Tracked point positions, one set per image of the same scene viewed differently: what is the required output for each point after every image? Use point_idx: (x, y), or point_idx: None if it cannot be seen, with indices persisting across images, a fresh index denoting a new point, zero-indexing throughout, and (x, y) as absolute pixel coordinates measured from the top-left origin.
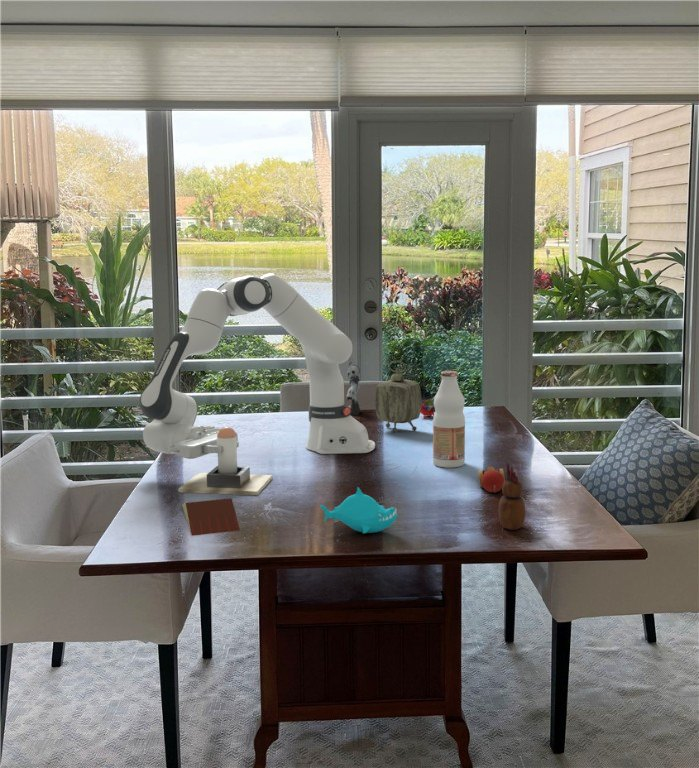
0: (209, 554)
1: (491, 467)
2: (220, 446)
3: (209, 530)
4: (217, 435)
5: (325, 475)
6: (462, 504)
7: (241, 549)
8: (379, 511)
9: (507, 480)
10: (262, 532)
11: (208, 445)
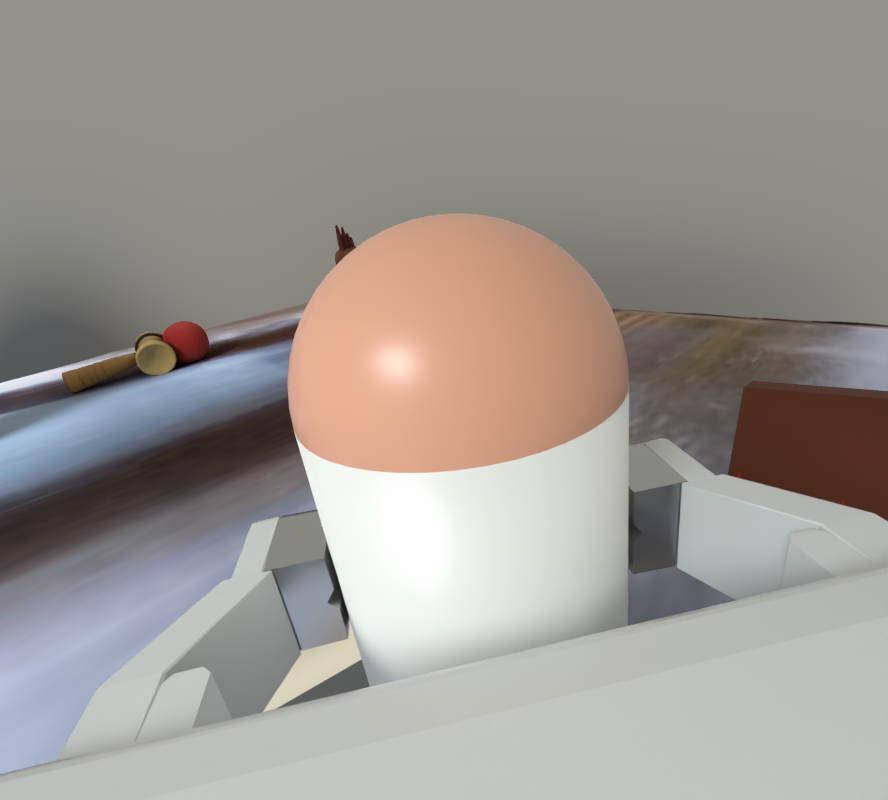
0: (879, 336)
1: (71, 370)
2: (632, 450)
3: (869, 390)
4: (623, 361)
5: (57, 581)
6: (286, 348)
7: (783, 335)
8: None
9: (346, 248)
10: (693, 364)
11: (842, 528)
